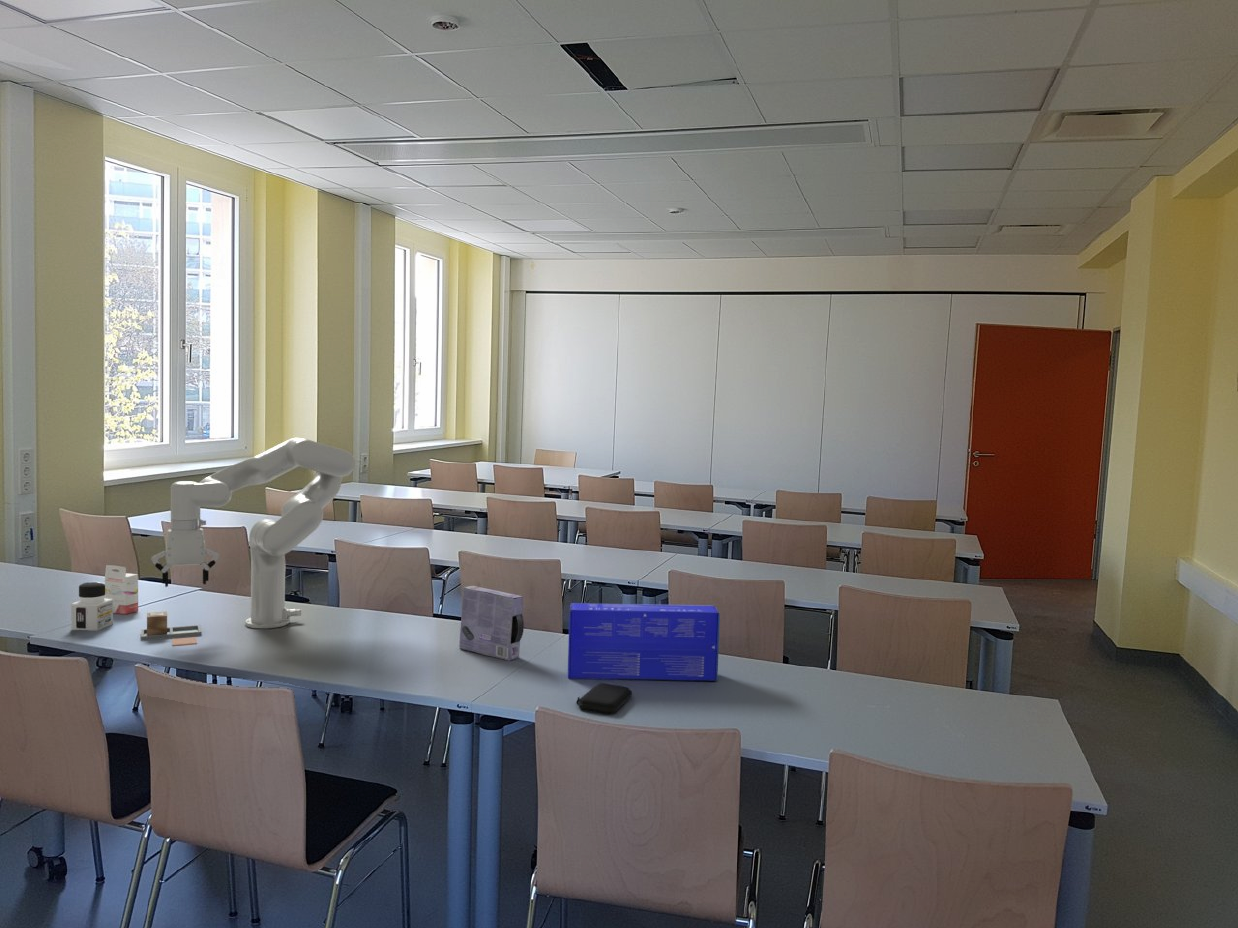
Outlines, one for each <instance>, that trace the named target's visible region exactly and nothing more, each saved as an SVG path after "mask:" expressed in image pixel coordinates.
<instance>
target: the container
mask: <svg viewBox="0 0 1238 928" xmlns="http://www.w3.org/2000/svg"><path fill="white" fill-rule="evenodd" d="M78 599H79V600H78V601H76V602H75V601H74V602H72V603H71V604H70V621H71V622H70V630H71V631H100V630H102V629H104V628H106V627H109V626H111V625H113V624H114V613H113V599H105V582H101V581H86V582H83V583H81V584H80V585H79V586H78Z"/></svg>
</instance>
